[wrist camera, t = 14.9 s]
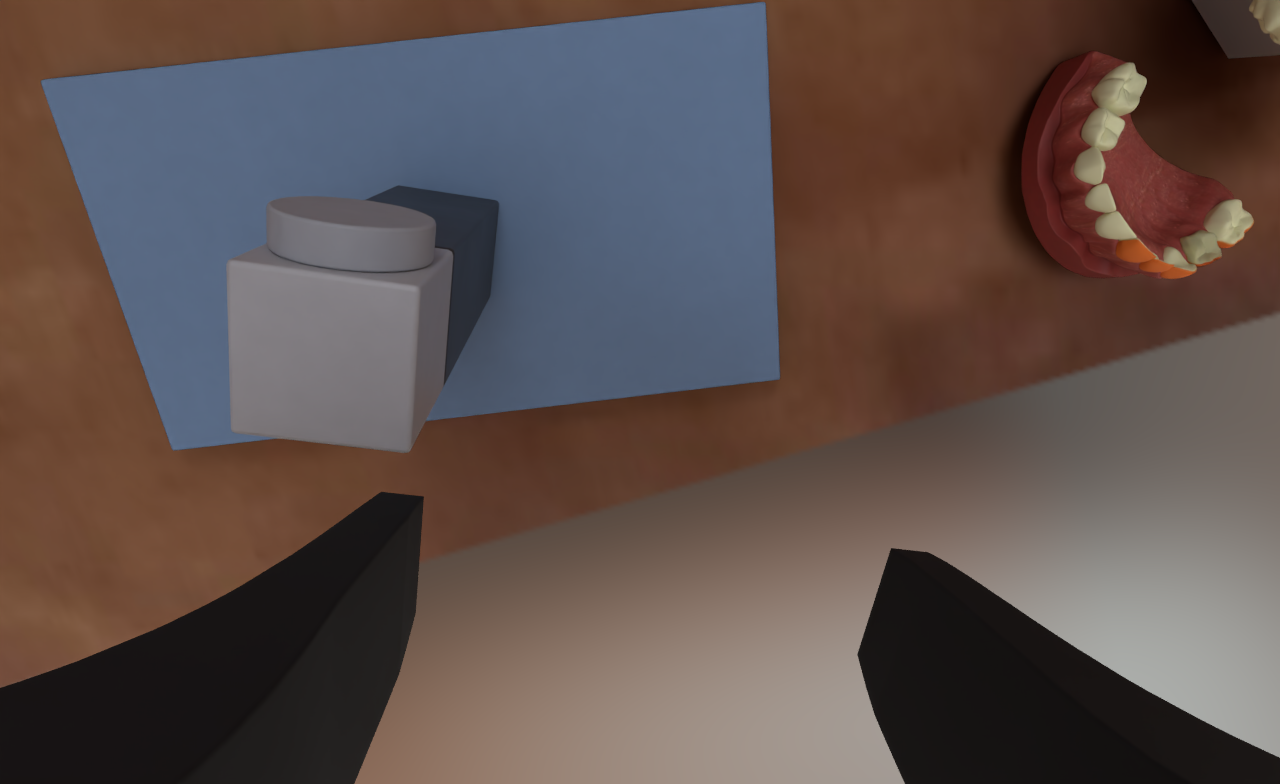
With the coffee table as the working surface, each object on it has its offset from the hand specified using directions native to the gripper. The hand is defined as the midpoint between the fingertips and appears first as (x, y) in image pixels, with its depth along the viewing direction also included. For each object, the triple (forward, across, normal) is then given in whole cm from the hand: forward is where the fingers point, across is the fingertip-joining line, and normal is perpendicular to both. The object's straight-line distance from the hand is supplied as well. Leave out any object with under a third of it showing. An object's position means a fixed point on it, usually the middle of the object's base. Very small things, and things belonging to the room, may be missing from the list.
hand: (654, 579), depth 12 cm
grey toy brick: (+9, +5, -3) cm, 11 cm away
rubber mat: (+9, +5, -3) cm, 11 cm away
